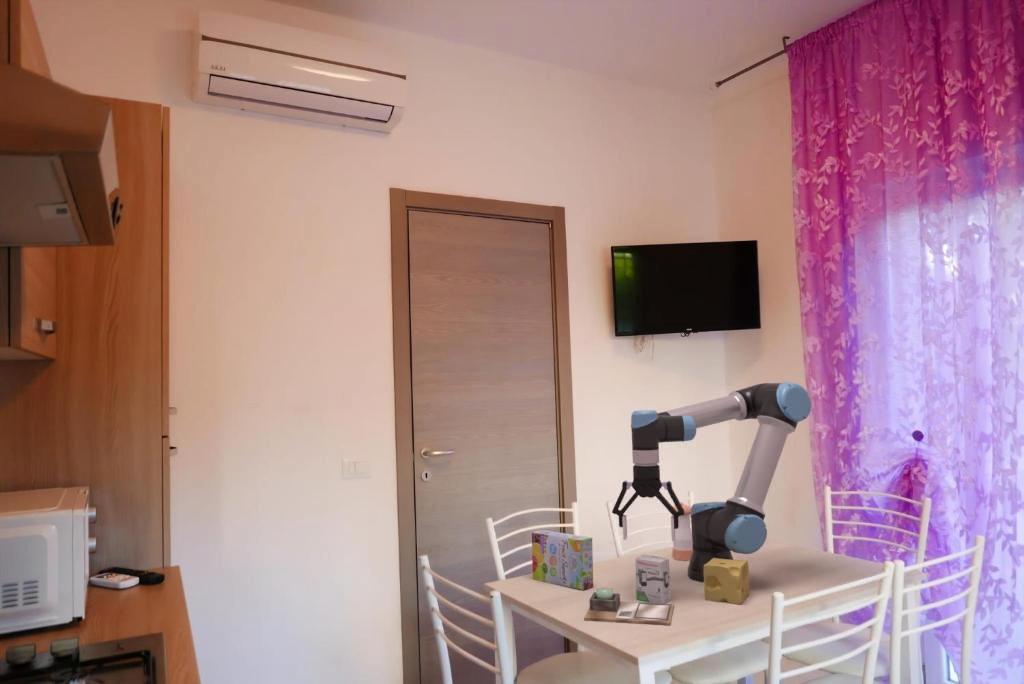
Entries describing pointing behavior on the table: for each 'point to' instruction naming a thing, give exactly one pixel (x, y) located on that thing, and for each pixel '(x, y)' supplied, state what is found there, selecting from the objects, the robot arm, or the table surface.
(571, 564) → the snack box
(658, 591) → the ink box
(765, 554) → the table surface
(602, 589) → the button
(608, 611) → the wooden tray
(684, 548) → the salt shaker
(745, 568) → the cheese
